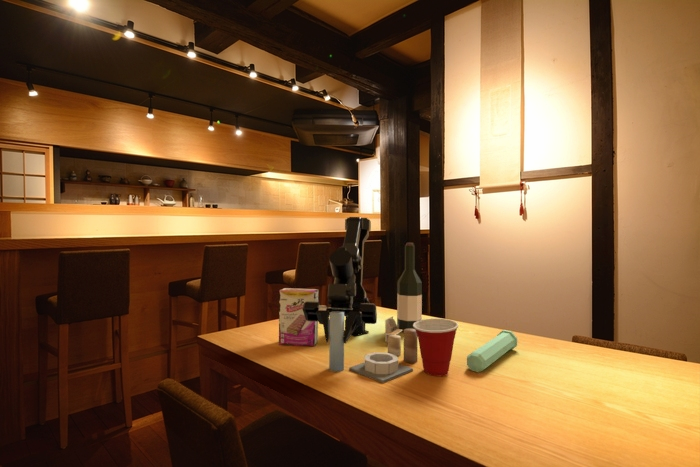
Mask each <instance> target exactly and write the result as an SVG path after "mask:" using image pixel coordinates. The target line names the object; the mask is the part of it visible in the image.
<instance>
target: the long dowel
mask: <svg viewBox="0 0 700 467" xmlns="http://www.w3.org/2000/svg"><path fill="white" fill-rule="evenodd" d="M329 320H330V328H329V340H328V343H329V346H328V348H329V349H328V350H329V356H328V357H329V358H328V360H329V363H328V364H329V365H328V368H329V369H328V370H329V371H330V372H334V373H340V372H342V371H344V369H345V343H344V335H345V333H344V330H345V316H344V312H342V311H332V312H330V315H329Z"/></svg>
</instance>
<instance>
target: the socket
mask: <svg viewBox="0 0 700 467" xmlns="http://www.w3.org/2000/svg"><path fill="white" fill-rule="evenodd" d="M348 370H349V371H351V372H354V373H356V374H359V375H361V376H364V377H366V378H369V379H372V380H374V381H377V382H380V383H382V384H384V383H387V382H390V381H392V380H394V379H397V378H399V377H402V376H404V375H406V374H408V373H412V372H413V371H414V368H412V367H410V366H407V365H403V364H401V363H399V358H398V357H397V356H396V355H393V354H390V353H388V352H374V351H373V352H370V353H368V354H365V355H364V362H362V363H361V362H360V363H358V364H355V365H353V366H349V369H348Z"/></svg>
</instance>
